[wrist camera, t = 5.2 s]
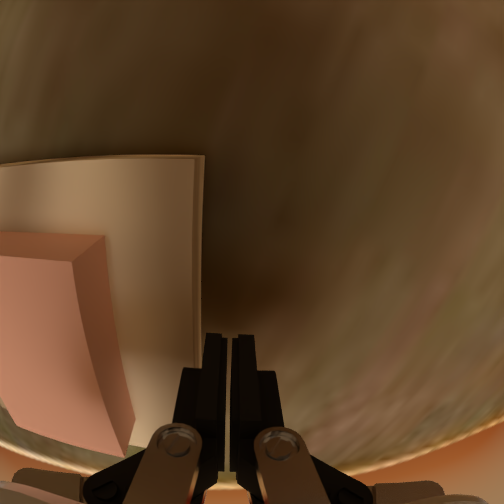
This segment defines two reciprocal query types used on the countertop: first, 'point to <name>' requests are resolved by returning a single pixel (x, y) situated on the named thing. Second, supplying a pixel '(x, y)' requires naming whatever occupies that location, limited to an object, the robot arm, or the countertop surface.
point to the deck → (129, 256)
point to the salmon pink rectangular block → (62, 341)
